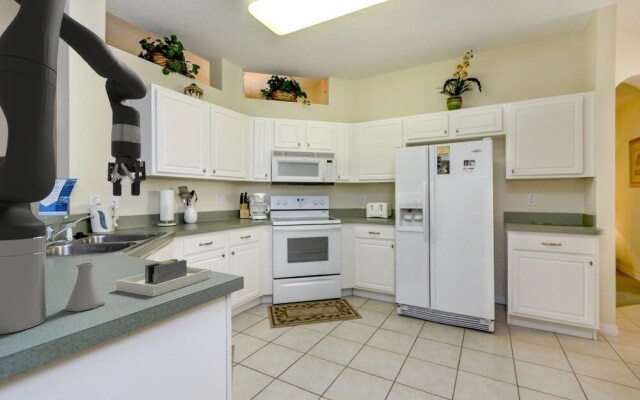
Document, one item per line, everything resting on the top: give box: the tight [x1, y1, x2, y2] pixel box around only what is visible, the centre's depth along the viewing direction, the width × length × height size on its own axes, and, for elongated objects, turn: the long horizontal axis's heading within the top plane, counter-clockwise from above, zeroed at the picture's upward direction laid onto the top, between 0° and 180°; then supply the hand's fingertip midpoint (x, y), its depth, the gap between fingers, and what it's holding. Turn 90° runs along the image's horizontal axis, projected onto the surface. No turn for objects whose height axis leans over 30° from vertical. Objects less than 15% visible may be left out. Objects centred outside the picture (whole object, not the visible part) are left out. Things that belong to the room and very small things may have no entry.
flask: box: [65, 261, 106, 312], centre depth 69 cm, size 7×7×10 cm
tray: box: [115, 266, 211, 297], centre depth 88 cm, size 20×14×4 cm
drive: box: [144, 258, 188, 285], centre depth 88 cm, size 10×5×5 cm, turn 157°
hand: (126, 195), depth 90 cm, fingers open, 8 cm apart
